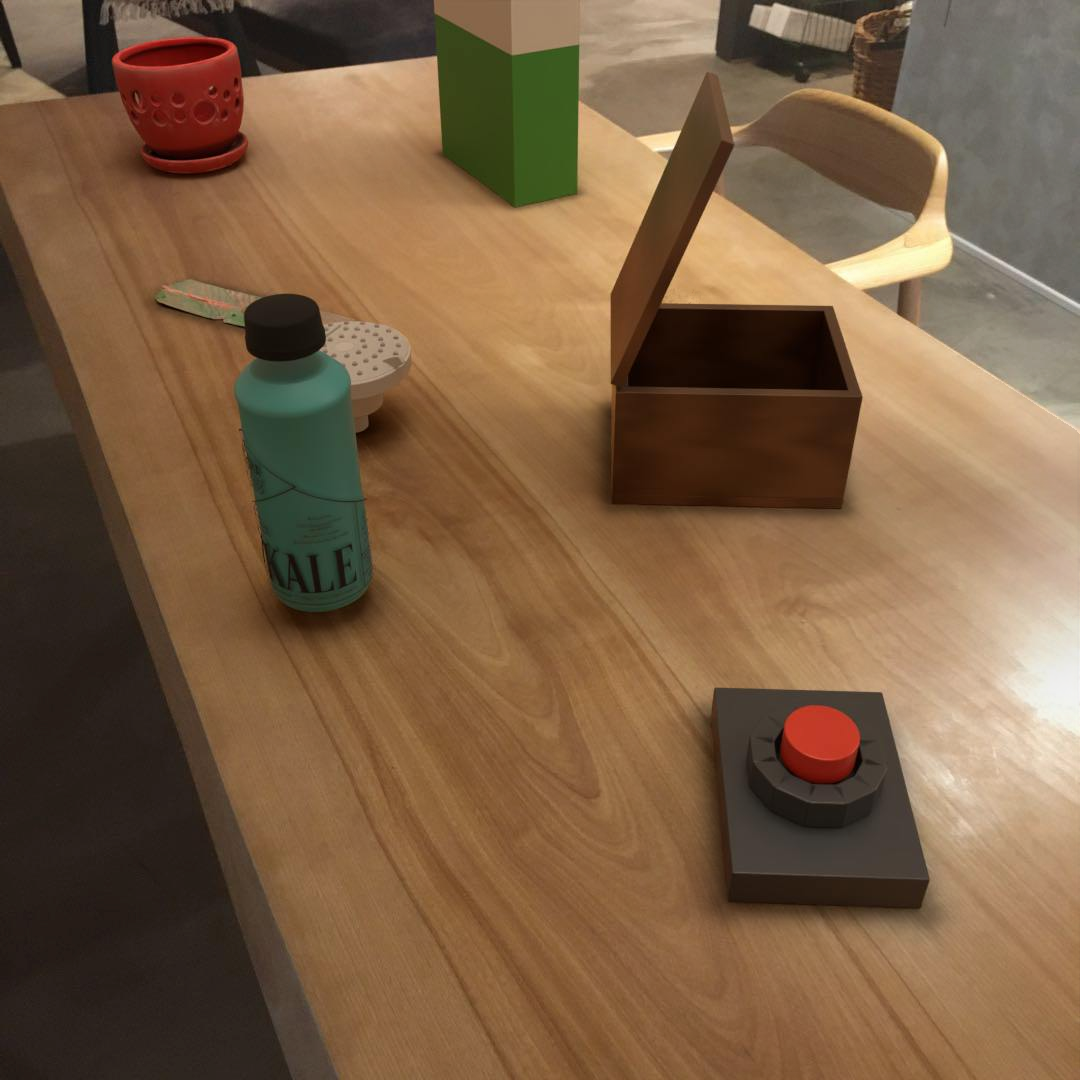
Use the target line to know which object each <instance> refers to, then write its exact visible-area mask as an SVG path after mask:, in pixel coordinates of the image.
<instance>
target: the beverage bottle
mask: <svg viewBox="0 0 1080 1080" xmlns="http://www.w3.org/2000/svg"><path fill="white" fill-rule="evenodd" d="M262 297H263V298H260V299H258V300H256V301H254V302H252V303H251V304H250V305H249V306H248V307H247V308H246V309H245V312H244V324H245V326H244V342H245V347H246V351H247V352H248V353H249V354H250V355H251V356H252V357H254V359H252V360H251V362H250V363H248V364H247V365H246V367H244V369H242V371H241V372H240V373H239V375H238V376H237V378H236V379H235V381H234V386H233V392H234V393H233V394H234V398H235V401H236V402H237V409H238V413H239V420H240V425H241V427H240V428H239V429H238V431H239V434H240V436H241V439H242V443H241V446H242V447H241V448H242V454H243V457H244V462H245V468H246V469H245V470H246V473H247V476H249V477H247V478H248V480H249V483H250V487H252V490H253V496H254V500H252V502H253V503H254V505H253V504H252V505H253V511H254V515H255V519H256V520H255V521H256V522H255V523H256V524H257V530H258V533H259V536H260V539H261V551H262V552H261V553H262V559H263V563H264V564H265V569H267V570H266V576H268V575H269V576H268V577H269V579H268V578H267V579H266V580H267V584H268V585H270V586H269V588H270V589H271V591H272V592H273V593H274V594H275V595H276V597H277V599H279V601H280V602H282V603H283V604H284V605H285V606H287V607H289V608H292V609H295V610H297V611H302V612H307V613H323V612H331V611H334V610H339V609H341V608H344V607H346V606H348V605H350V604H353V603H354V602H355V601H357V600H358V599H360V598H361V597H362V596H363V595H364V594H365V593H366V591H367V590H368V588H369V586H370V583H371V582H372V579H373V576H374V575H375V572H374V571H375V570H376V568H374V565H373V562H374V559H373V558H374V555H373V551H371V549H372V546H371V544H373V541H372V539H370V538H369V537H370V532H371V531H369V526H368V521H369V518H367V509H366V506H365V505H366V503H365V501H366V500H367V499H368V498H367V497H366V498H364V492H363V487H362V477H361V469H360V468H361V467H360V460H359V451H358V444H357V443H358V441H357V434H356V433H355V424H354V415H353V407H352V398H351V389H350V388H351V378H350V375H349V373H348V371H347V369H346V368H345V367H344V366H343V365H342V364H341V363H340V362H338V361H337V360H336V359H334V358H333V357H331V356H329V355H327V354H326V353H324V352H322V351H319V350H320V349H321V348H322V347H323V346H324V344H325V342H326V334H325V329H324V326H323V324H322V319H321V314H320V310H321V309H320V307H319V304H318V303H317V302H316V301H315V300H314V299H312V298H311V297H310V296H306V295H303V294H298V293H277V294H271V295H266V296H262ZM241 433H242V434H241ZM250 491H251V488H250ZM368 515H369V514H368Z"/></svg>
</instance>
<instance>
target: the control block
mask: <svg viewBox="0 0 1080 1080" xmlns="http://www.w3.org/2000/svg"><path fill="white" fill-rule="evenodd" d="M812 705H819V706H826V707H830V708H833V709H836V710H838V711H840V712H842V713H844V714H845V715H847V716H848V717H849V718H850V719H851V720H852V721H853V722H854V723H855V725H856V726H857V728H858V731H859V734H860V743H859V747H858V752H857V756H856V760H855V764H854V768H853V770H852V772H851V773H850V774H849V775H848V776H847V777H846V778H844V779H843V780H841V781H838V782H836V783H831V784H816V783H811V782H808V781H805V780H803V779H801V778H799V777H797V776H795V775H794V774H793V773H792V772H790V771H789V770H788V769H787V767H786V766H785V765H784V763H783V761H782V758H781V755H780V747H781V741H782V735H783V730H784V724H785V721H786V719H787V718H788V716H789V715H790V714H791V713H792V712H794V711H795V710H797V709H799V708H802V707H805V706H812ZM710 710H711V711H710V721H711V732H712V744H713V753H714V762H715V763H714V766H715V776H716V777H715V778H716V787H717V799H718V808H719V809H718V810H719V818H720V820H719V821H720V829H721V831H720V832H721V840H722V851H723V862H724V875H725V884H726V895H727V901H728V902H739V903H740V902H741V903H742V902H743V903H768V904H769V903H771V904H795V905H796V904H797V905H825V906H827V905H828V906H851V907H852V906H853V907H854V906H855V907H881V908H883V907H885V908H906V909H907V908H910V909H911V908H912V909H913V908H914V909H921V908H922V905H923V902H924V900H925V896H926V893H927V890H928V887H929V883H930V881H931V880H930V875H929V870H928V867H927V863H926V859H925V856H924V852H923V847H922V844H921V840H920V836H919V832H918V828H917V824H916V820H915V816H914V812H913V808H912V805H911V804H912V803H911V800H910V796H909V793H908V788H907V784H906V781H905V776H904V773H903V769H902V765H901V761H900V757H899V754H898V749H897V745H896V741H895V738H894V734H893V730H892V726H891V721H890V718H889V714H888V709H887V705H886V702H885V697H884V694H883V692H882V691H855V690H854V691H853V690H821V689H820V690H819V689H817V690H816V689H785V688H784V689H783V688H781V689H780V688H749V687H748V688H746V687H714V688H713V693H712V701H711V709H710Z"/></svg>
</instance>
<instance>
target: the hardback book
mask: <svg viewBox="0 0 1080 1080" xmlns="http://www.w3.org/2000/svg"><path fill="white" fill-rule="evenodd" d="M433 9H434V11H433V12H434V27H435V45H436V47H435V48H436V59H437V60H436V62H437V79H438V83H437V84H438V97H439V98H438V99H439V114H440V115H439V117H440V133H441V150H442V155H444V156H445V157H446V158H448V159H449V160H450V161H452V162H453V164H456V165H457V166H459V167H460V168H461V169H462V170H464V171H465V172H467V173H468V174H469V175H470V176H472V177H474V178H475V179H476V180H478V182H480V183H481V184H483V185H484V186H486V187H487V188H488V189H489V190H490V191H492V192H494V193H495V194H496V195H498V196H499V197H500V198H502V199H503V200H505V201H506V202H507V203H508V204H510V205H511V206H512V207H514V208H517V207H522V206H527V205H531V204H535V203H540V202H544V201H549V200H554V199H558V198H563V197H568V196H572V195H576V194H578V170H579V168H578V167H579V165H578V162H579V97H580V93H579V91H580V35H581V33H580V32H581V31H580V28H581V25H580V24H581V23H580V22H581V0H433Z"/></svg>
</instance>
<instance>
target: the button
mask: <svg viewBox="0 0 1080 1080" xmlns="http://www.w3.org/2000/svg"><path fill="white" fill-rule="evenodd" d="M859 743H860V734H859V731H858V728H857V726H856V725H855V723H854V722H853V721H852V720H851V719H850V718H849V717H848V716H847V715H845V714H844V713H842V712H840V711H838V710H836V709H833V708H830V707H826V706H819V705H812V706H805V707H802V708H799V709H797V710H795V711H794V712H792V713H791V714H790V715H789V716H788V718H787V719H786V721H785V724H784V730H783V735H782V741H781V747H780V755H781V758H782V761H783V763H784V765H785V766H786V767H787V769H788V770H789V771H790V772H792V773H793V774H794V775H795V776H797V777H799V778H801V779H803V780H805V781H808V782H811V783H816V784H831V783H836V782H838V781H841V780H843V779H844V778H846V777H847V776H848V775H849V774H850V773H851V772H852V770H853V768H854V764H855V760H856V756H857V752H858V747H859Z"/></svg>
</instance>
